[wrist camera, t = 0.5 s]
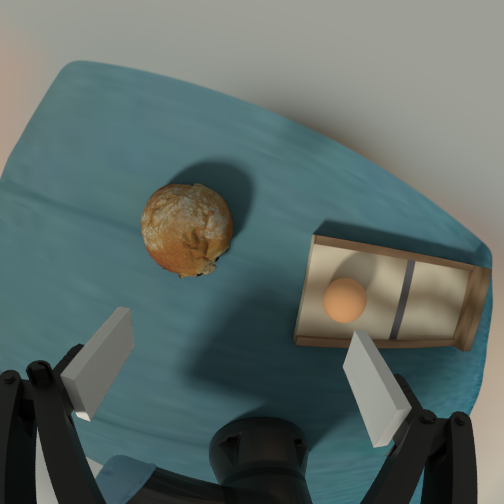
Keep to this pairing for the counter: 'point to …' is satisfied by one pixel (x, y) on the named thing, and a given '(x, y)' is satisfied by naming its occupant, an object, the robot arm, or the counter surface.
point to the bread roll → (186, 228)
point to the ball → (344, 300)
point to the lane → (392, 297)
